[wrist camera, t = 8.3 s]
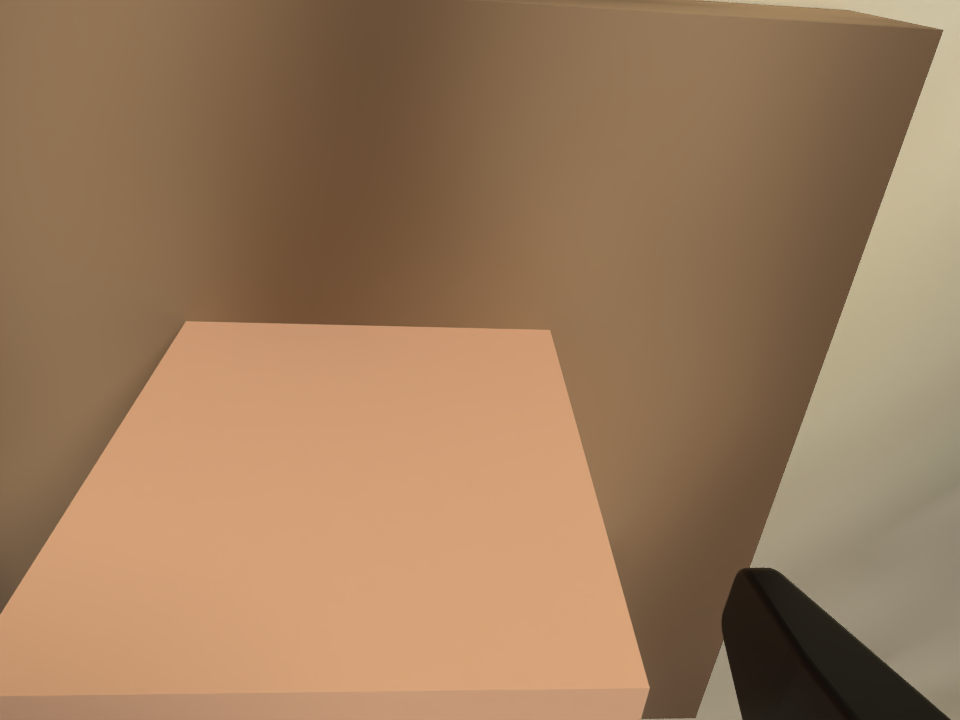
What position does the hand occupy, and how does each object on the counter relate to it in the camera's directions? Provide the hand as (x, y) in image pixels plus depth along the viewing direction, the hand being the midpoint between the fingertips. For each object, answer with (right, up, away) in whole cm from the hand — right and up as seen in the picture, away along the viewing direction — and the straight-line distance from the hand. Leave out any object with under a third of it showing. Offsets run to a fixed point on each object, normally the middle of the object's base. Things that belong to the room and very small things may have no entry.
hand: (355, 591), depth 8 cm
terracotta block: (0, +1, +2) cm, 2 cm away
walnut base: (0, +2, +4) cm, 4 cm away
